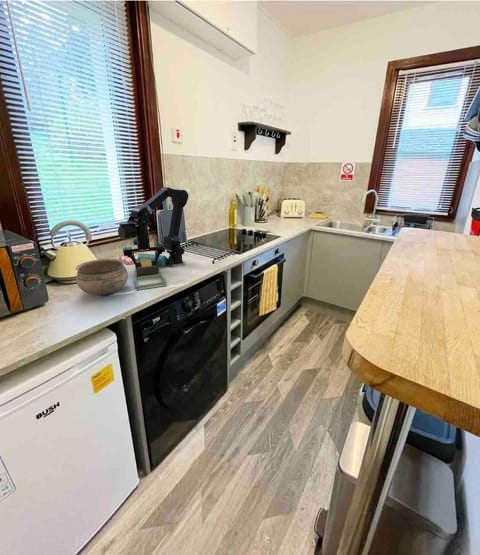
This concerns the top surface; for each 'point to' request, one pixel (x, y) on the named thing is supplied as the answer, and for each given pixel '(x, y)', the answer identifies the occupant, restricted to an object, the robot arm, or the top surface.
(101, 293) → the brown bowl
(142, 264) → the tape roll
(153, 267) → the tape holder
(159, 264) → the beverage bottle
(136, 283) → the tray
